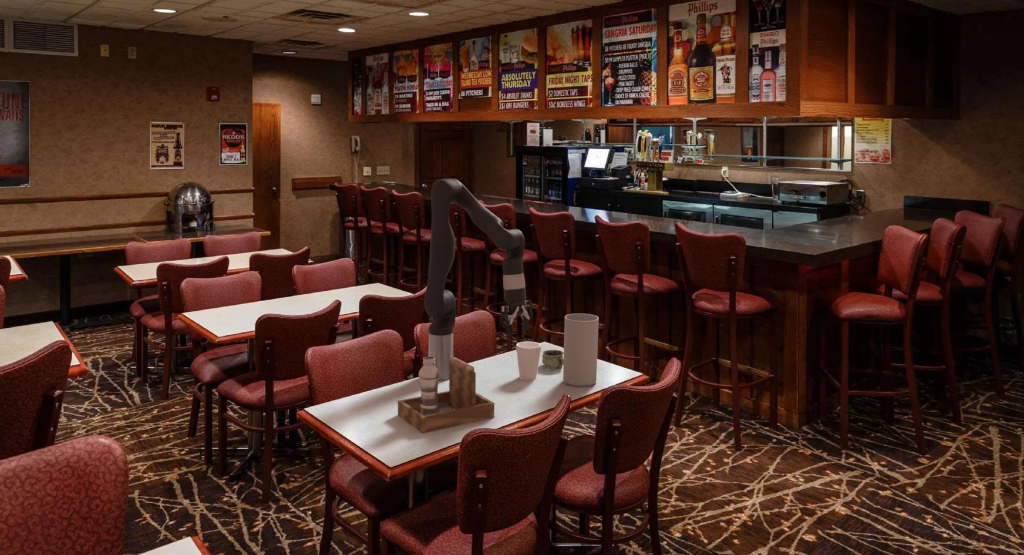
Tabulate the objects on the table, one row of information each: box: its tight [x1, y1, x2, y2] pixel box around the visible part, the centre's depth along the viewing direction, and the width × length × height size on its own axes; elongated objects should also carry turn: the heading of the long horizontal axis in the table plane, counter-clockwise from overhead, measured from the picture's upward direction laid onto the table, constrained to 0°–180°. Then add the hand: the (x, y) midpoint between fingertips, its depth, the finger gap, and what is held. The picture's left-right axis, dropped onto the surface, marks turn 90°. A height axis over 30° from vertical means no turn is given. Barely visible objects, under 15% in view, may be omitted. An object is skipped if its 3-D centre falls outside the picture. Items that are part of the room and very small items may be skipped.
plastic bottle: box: [418, 356, 441, 416], centre depth 243 cm, size 6×7×20 cm
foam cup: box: [515, 341, 542, 381], centre depth 286 cm, size 10×9×13 cm
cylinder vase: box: [562, 313, 600, 388], centre depth 281 cm, size 12×12×25 cm
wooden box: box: [397, 356, 495, 434], centre depth 244 cm, size 18×26×18 cm
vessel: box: [541, 349, 564, 371], centre depth 300 cm, size 12×9×6 cm
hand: (518, 332), depth 263 cm, fingers open, 8 cm apart
